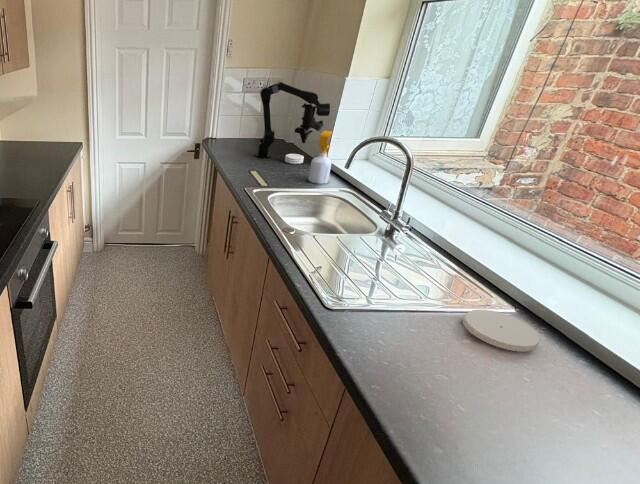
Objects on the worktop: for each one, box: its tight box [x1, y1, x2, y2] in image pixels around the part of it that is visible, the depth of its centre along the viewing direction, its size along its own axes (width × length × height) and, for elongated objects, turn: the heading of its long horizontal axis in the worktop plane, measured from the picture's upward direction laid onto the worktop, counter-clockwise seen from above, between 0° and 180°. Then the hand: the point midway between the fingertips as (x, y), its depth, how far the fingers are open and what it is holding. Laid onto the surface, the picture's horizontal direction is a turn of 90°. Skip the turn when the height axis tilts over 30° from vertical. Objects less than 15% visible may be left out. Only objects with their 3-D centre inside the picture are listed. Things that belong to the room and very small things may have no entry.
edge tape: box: [249, 170, 269, 187], centre depth 212 cm, size 24×3×1 cm, turn 178°
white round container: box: [284, 153, 305, 165], centre depth 237 cm, size 10×10×4 cm
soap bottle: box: [307, 130, 334, 185], centre depth 201 cm, size 9×9×25 cm
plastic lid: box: [462, 309, 541, 353], centre depth 100 cm, size 14×14×2 cm
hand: (303, 143), depth 241 cm, fingers closed
